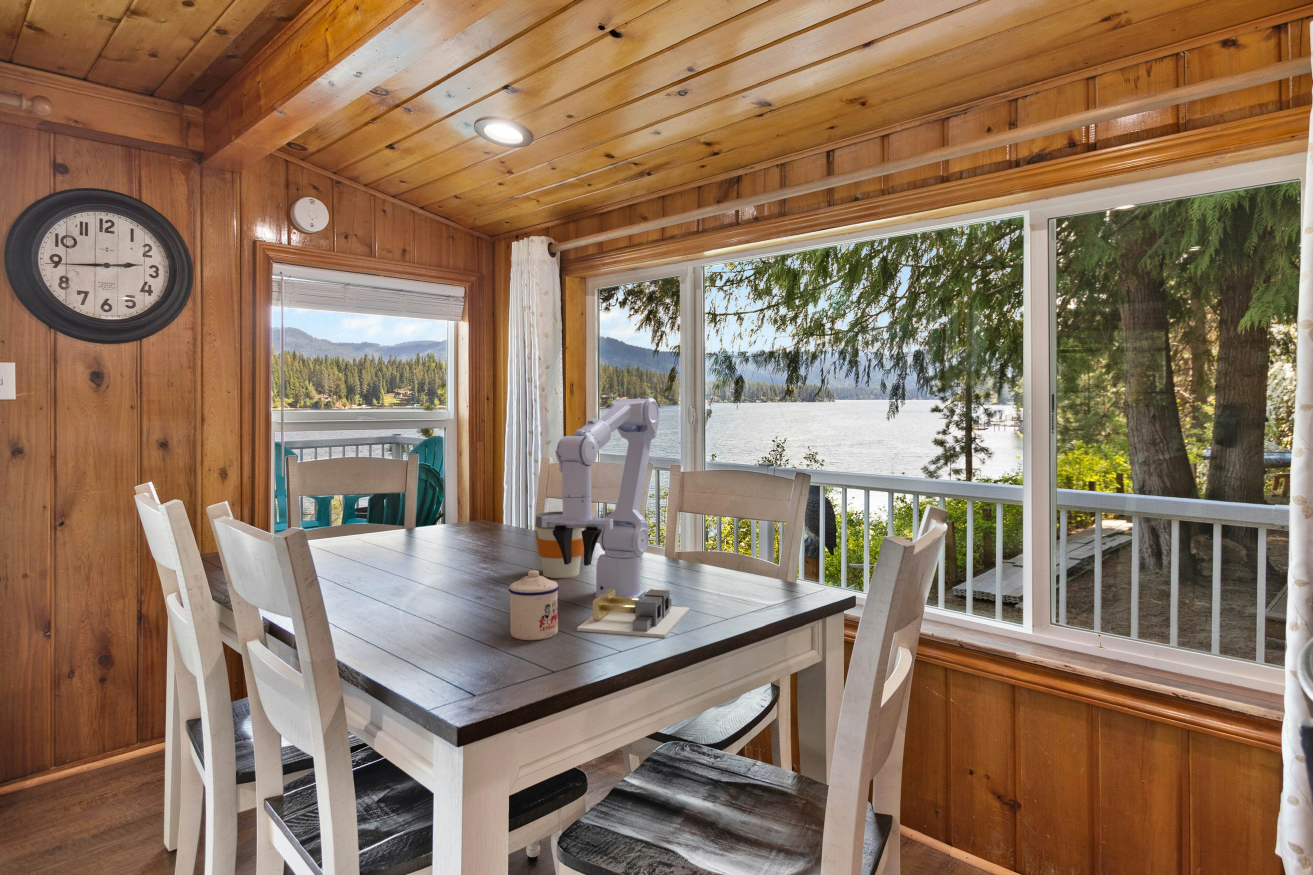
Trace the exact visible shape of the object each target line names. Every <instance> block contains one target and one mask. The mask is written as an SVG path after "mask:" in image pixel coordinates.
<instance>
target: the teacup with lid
mask: <svg viewBox="0 0 1313 875" xmlns="http://www.w3.org/2000/svg"><path fill="white" fill-rule="evenodd" d="M527 574H528V575H527V576H523V577H522V578H521V579H519V580H517V581H514V582H512V583H511V584H510V585H509V587H508V592H509V611H510V613H509V617H510V622H509V623H510V629H509V630H510V635H511V637H513V638H514V639H516V640H522V641H539V640H540V641H541V640H545V639H550V638H553V637H554V636H556V635H557V633H558V632H559V620H558V618H559V617H558V616H559V613H558V611H559V608H558V606H559V604H558V600H559V598H558V594H559V592H558V590H560V589H559V588H560V587H559V583H557V581H555V580H552V579H548V577H545V576H544V575H540V572H539V570H536V569H531V570H529V571H528V573H527Z"/></svg>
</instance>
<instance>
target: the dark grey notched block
mask: <svg viewBox="0 0 1313 875" xmlns="http://www.w3.org/2000/svg"><path fill="white" fill-rule="evenodd" d="M643 596H649V597H662V618H665V617H666V616H667V615H668V614H669V613H670V608H671V606H672V598H670V596H671V593H670V590H667V589H665V590H664V589H653V588H650V589H649V590H648V591H646V592H645V593H643Z"/></svg>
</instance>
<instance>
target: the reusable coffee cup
mask: <svg viewBox="0 0 1313 875" xmlns="http://www.w3.org/2000/svg"><path fill="white" fill-rule="evenodd" d="M545 516H563V510H561V511H559V510H558V511H546V512H541V513H537V514H536V516H535V526H534V527H535V528H536V533H537V537H536V544H537V550H538V551H537V553H538V556H539V557H540V561H541V567H542V576H543V577H545V576H546V577H545V578H549V577H550V579H566V578H573V577H577V576H579V575H580V572H581V571H580V570H581V569H580V568H581V560H582V555H584V545H583V538H582V533H581V531H583V530H585V528H573V533H572V543H571V552H572V560H571V563H569V564H568V565H566V564H564V560H563V556H562V553H561V550H560V547H559V545H558V542H557V540H556V539H555V537H554V535H553V530H554V529H555V527H542V517H545ZM567 525H571V524H567ZM574 525H585V524H574Z"/></svg>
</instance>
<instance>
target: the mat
mask: <svg viewBox="0 0 1313 875" xmlns="http://www.w3.org/2000/svg"><path fill="white" fill-rule="evenodd" d="M689 612H690V607H685V606H672V605H671V608H670V613H669V614H668V615H667V616H666V617H665V618H662V621H661V622H660V623H659V624H658V625H657V626H652V627H651V628H650V629H649V630H648V631H647V632H645V631H633V620H634V619H635V614H628V613H615V612H608V613H607V614H606V615H605V616H603V617H602V618H601V619H599V620H594V619H593V615H592V616H590V617H589V618H588V619H587V620H585V621H584V622H583V623H581V624H580V625H579V626H577V627H576V632H587V633H588V632H589V633H599V634H600V633H601V634H612V635H623V636H625V635H626V636H637V637H649V638H659V639H660V638H661V639H663V638H664V639H666V638H667V636H668V635H669V634H670V633H671V632H672V631H673V630H674V629H675V627H676V626H677V625H678V624H679V623H680V622H681V621H682V620H683V618H685V616H686V615H687V614H688V613H689Z"/></svg>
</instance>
